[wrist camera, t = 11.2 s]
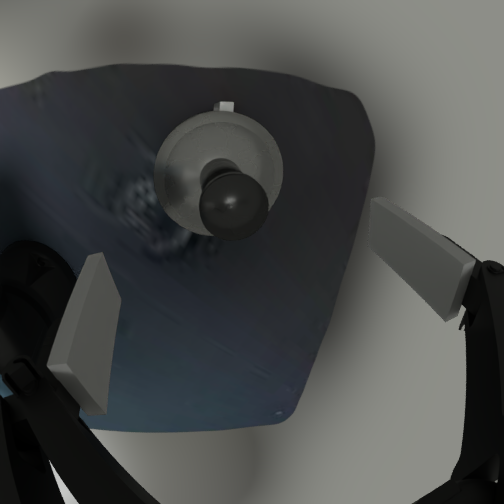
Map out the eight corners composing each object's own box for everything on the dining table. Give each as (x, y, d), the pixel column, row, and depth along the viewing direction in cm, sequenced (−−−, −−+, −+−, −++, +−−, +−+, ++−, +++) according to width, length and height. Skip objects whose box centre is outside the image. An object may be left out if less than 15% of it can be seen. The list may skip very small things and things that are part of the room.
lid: (169, 241, 28) (168, 299, 20) (143, 125, 23) (123, 139, 15) (283, 218, 30) (320, 266, 22) (272, 102, 24) (315, 107, 16)
